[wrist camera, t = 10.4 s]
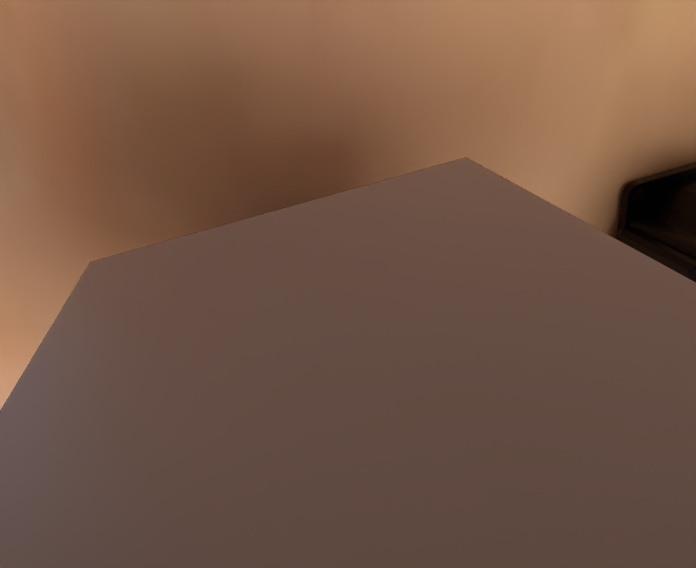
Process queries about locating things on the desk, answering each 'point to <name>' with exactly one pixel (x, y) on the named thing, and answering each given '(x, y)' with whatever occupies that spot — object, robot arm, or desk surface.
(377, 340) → the matte gray cube
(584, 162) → the desk surface
